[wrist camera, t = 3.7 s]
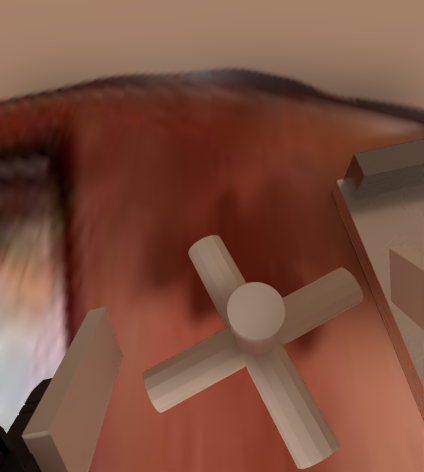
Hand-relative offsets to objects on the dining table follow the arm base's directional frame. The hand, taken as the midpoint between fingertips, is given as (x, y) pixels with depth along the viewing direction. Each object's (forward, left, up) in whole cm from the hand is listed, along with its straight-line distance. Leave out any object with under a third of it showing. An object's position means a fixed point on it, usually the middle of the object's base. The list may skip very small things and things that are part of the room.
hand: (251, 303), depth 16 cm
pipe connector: (+1, -1, -5) cm, 6 cm away
